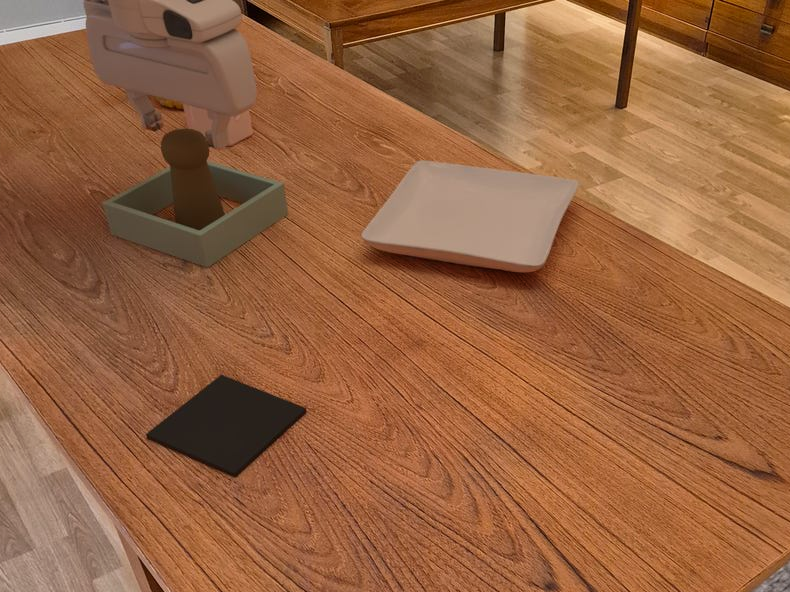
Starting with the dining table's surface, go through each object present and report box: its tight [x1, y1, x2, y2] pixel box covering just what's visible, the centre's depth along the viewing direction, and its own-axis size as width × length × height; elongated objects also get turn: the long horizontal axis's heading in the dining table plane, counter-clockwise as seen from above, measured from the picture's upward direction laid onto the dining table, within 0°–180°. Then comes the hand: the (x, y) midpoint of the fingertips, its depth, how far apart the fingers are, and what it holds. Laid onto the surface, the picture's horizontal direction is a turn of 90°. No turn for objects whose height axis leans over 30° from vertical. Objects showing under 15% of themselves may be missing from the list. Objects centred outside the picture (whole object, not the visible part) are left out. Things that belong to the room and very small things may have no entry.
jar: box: [183, 104, 254, 147], centre depth 120 cm, size 9×8×12 cm
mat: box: [145, 374, 307, 478], centre depth 80 cm, size 10×10×1 cm
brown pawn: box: [160, 128, 226, 231], centre depth 102 cm, size 6×6×11 cm
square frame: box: [101, 160, 289, 269], centre depth 105 cm, size 15×15×4 cm
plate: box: [360, 159, 580, 273], centre depth 105 cm, size 21×21×3 cm
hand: (185, 137), depth 99 cm, fingers open, 8 cm apart
